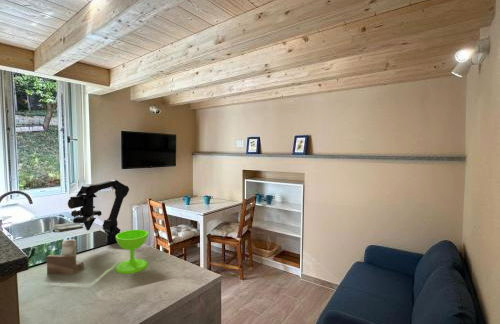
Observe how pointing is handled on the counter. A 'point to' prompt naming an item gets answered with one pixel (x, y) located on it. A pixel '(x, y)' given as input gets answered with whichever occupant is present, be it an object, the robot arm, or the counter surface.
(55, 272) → the roll holder
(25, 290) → the counter surface
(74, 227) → the dish towel
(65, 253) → the roll carriage
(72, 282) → the counter surface
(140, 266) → the wineglass
